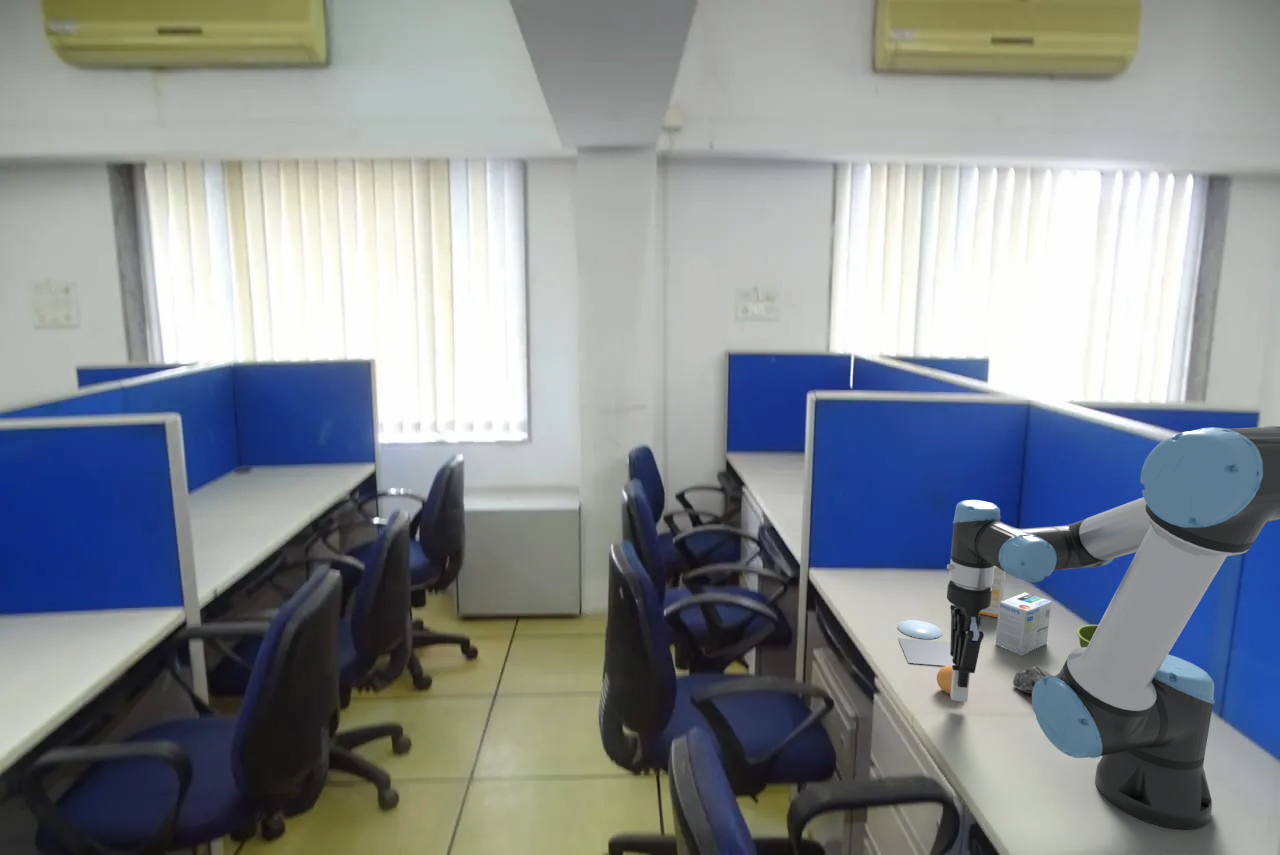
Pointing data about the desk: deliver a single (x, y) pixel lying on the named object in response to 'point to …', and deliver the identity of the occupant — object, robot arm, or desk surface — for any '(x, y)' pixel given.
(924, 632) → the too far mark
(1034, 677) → the fossilized seashell
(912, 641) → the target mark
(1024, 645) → the light bulb box
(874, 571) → the desk surface
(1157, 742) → the robot arm
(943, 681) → the ball
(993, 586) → the supplement box
